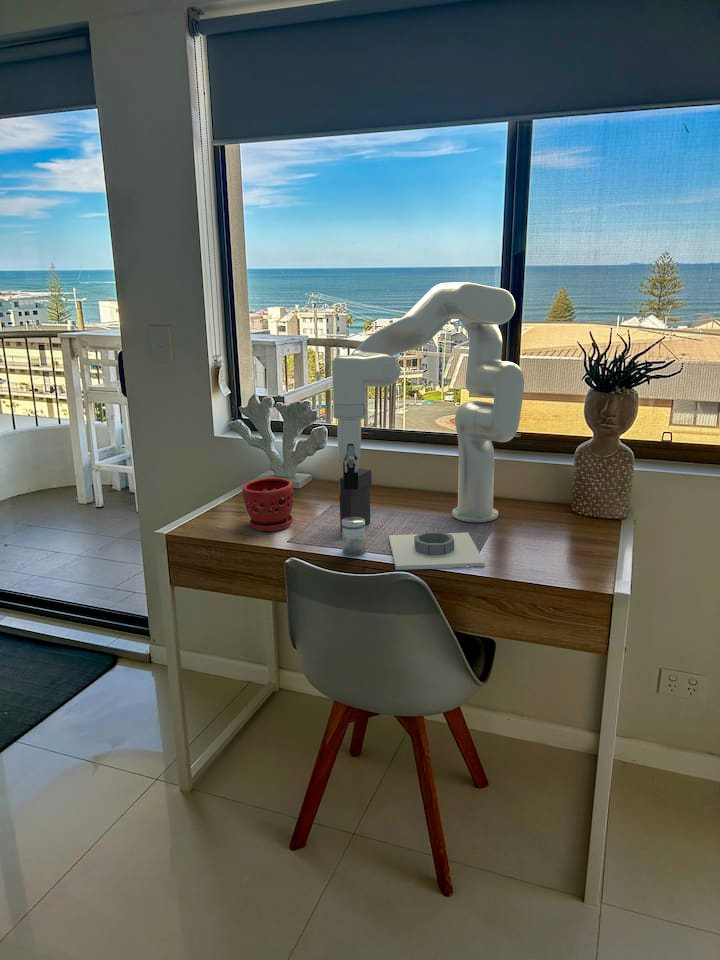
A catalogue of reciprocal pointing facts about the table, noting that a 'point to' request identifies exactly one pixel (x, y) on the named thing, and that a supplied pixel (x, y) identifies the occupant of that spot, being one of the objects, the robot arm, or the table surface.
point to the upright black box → (356, 498)
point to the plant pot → (269, 503)
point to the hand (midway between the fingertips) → (350, 483)
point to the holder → (434, 551)
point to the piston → (353, 536)
